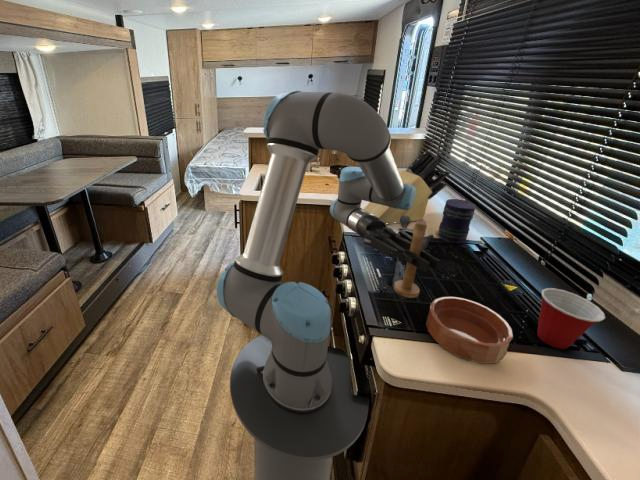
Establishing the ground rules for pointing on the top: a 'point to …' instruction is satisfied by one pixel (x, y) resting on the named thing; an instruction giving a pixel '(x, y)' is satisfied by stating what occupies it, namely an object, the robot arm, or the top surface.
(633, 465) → the top surface
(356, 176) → the robot arm
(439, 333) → the bowl
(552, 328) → the plastic cup
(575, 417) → the top surface
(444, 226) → the storage jar
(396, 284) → the wooden pestle
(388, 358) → the top surface
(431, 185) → the knife block
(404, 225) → the teapot
